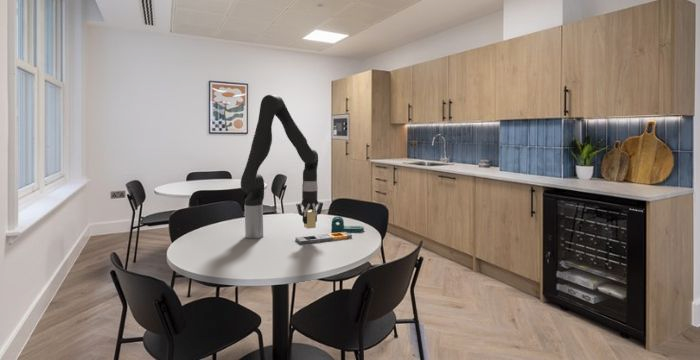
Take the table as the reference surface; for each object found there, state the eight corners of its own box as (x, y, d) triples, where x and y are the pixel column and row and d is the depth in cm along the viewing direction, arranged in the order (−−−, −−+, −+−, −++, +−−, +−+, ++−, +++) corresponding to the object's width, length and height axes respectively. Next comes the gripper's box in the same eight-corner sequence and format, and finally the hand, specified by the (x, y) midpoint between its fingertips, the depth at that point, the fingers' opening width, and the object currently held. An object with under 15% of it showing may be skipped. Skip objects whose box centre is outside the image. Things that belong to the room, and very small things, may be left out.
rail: (295, 240, 200) (295, 237, 199) (345, 234, 212) (345, 231, 212) (300, 244, 192) (300, 241, 192) (351, 238, 205) (351, 235, 204)
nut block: (304, 226, 199) (304, 211, 198) (312, 225, 201) (312, 210, 200) (307, 228, 195) (307, 212, 194) (315, 227, 197) (315, 212, 196)
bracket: (331, 232, 217) (331, 218, 216) (331, 229, 223) (331, 216, 222) (364, 232, 217) (364, 218, 216) (363, 229, 224) (363, 216, 223)
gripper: (320, 187, 203) (320, 220, 205) (293, 189, 196) (293, 222, 198) (326, 189, 196) (325, 223, 198) (298, 191, 190) (298, 226, 192)
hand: (309, 223), depth 198 cm, fingers closed on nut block, 4 cm apart
